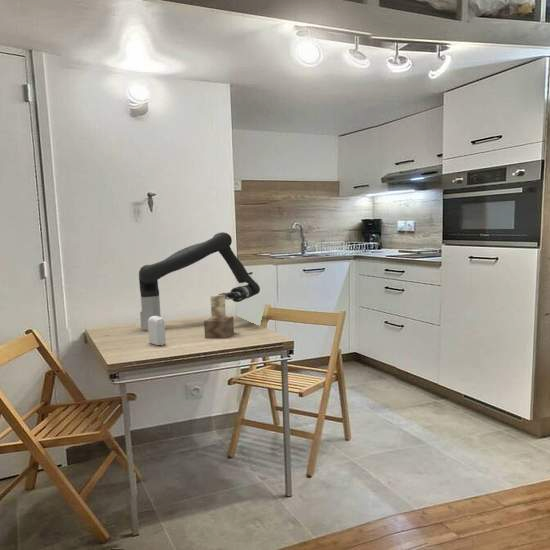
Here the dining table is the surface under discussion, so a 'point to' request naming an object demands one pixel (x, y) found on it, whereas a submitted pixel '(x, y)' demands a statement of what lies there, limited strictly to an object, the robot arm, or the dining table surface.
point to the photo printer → (156, 330)
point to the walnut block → (219, 328)
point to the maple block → (218, 307)
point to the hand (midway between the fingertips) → (227, 297)
